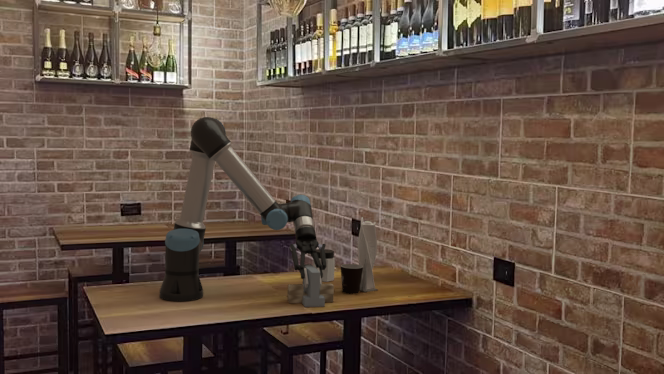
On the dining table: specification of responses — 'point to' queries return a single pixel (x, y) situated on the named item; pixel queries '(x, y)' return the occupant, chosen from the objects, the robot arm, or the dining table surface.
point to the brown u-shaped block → (297, 293)
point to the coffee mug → (351, 278)
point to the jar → (330, 261)
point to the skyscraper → (367, 254)
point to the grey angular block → (313, 288)
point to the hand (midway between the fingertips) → (313, 285)
